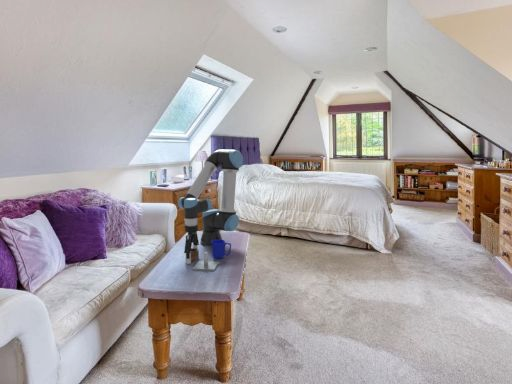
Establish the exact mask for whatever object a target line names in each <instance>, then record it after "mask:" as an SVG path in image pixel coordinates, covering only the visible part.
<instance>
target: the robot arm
mask: <svg viewBox="0 0 512 384" xmlns="http://www.w3.org/2000/svg"><path fill="white" fill-rule="evenodd" d="M203 163H204V166H203V167H202V169H200V172H199V173H198V175H197V176H196V178H195V180H194V181H193V183H192V184H191V186H190V187H189V190H187V192H186V194H185V195H184V196H182V197H180V198H179V199H178V200H177V206H178V207H179V208H180V209H181V210H184V212H183V213H184V218H183V221H184V232H185V233H187V235H185V243H184V245H185V246H184V251H183V252H184V254H185V264H186V265H187V264H188V265H191V264H192V262H191V253H190V251H191V248H197V249H198V246H199V245H200V244H201V245H203V246H209V247H210V246H211V247H212V244H211V242H212V241H213V240H223V237H222V234H221V232H220V231H223V232H224V231H225V232H234V231H236V229H237V228H238V227H239V224H240V218H239V216H238V214H237V210H236V209H235V200H236V199H235V198H236V187H237V186H236V184H237V174H238V172H240V168H241V167H242V166H243V164H244V157H243V155H242V153H241V152H240V151H239V150H237V149H217V150H215V151H213V152H212V153H211V154H210V155H209V156H208V157H206V159H205V161H204V162H203ZM219 168H220V169H221V171H222V172H223V173H222V175H223V176H222V188H221V189H222V191H221V206H220V208H219V209H217V208H213V202H212V201H211V199H209V198H203V199H200V198H199V197H200V195H201V194H202V192H203V191H204V189H205V187H206V185H208V182H209V181H210V179H211V178H212V176H213V174H214V173H215V172H216V171H218V169H219ZM212 208H213V209H212ZM200 213H202V217H201V218H202V234H201V237H200V242H199V238H198V231H199V228H198V227H199V225H198V224H199V221H198V220H199V218H198V217H199V216H198V215H199V214H200ZM192 244H193V245H192Z"/></svg>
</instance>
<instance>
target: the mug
mask: <svg viewBox="0 0 512 384" xmlns="http://www.w3.org/2000/svg"><path fill="white" fill-rule="evenodd" d="M211 244H212V245H211V252H212V257H213V258H214V259H218V260H219V259H223V258H224V257H225V256H230V254H231V249H232V243H230V242H226V241H225V240H224V239H222V240H213V241H212V242H211ZM226 245H229V251H228V253H226Z"/></svg>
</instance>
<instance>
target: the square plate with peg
mask: <svg viewBox="0 0 512 384" xmlns="http://www.w3.org/2000/svg"><path fill="white" fill-rule="evenodd" d="M219 264H220V261H215V260H213V261H209V252H207V251H205V252H203V260H198V261H196V263H195V265H194V266H193V267H192V271H197V272H198V271H201V272H215V270H216V269H217V267H218V266H219Z"/></svg>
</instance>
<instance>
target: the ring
mask: <svg viewBox="0 0 512 384" xmlns="http://www.w3.org/2000/svg"><path fill="white" fill-rule="evenodd" d="M190 253H191V263H195V262H198V261H200V260H199V259H200V257H199V256H200V255H199V249H197V248H193V247H191V251H190Z"/></svg>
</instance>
